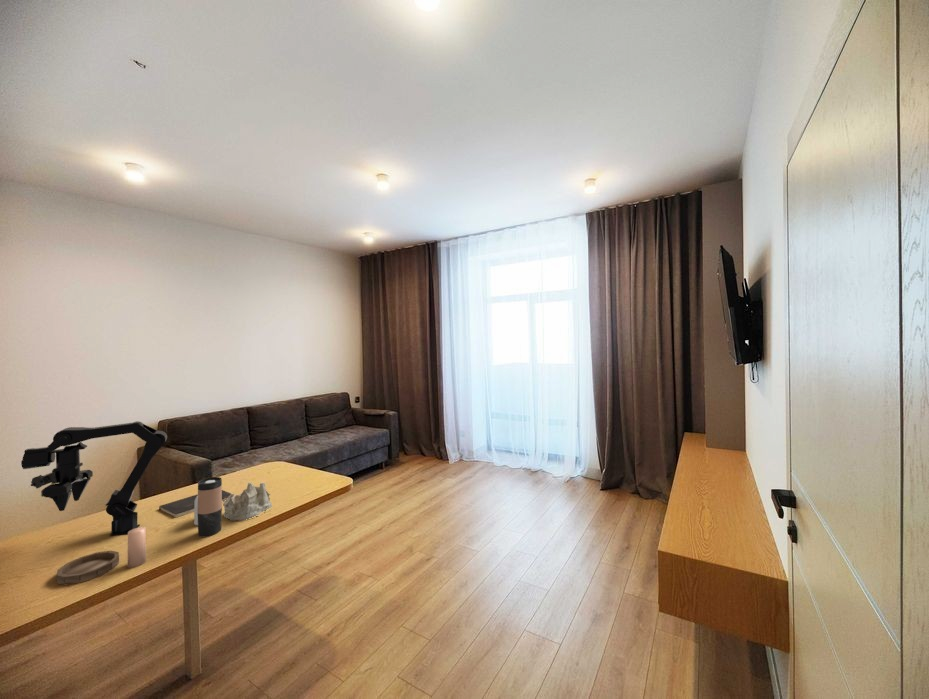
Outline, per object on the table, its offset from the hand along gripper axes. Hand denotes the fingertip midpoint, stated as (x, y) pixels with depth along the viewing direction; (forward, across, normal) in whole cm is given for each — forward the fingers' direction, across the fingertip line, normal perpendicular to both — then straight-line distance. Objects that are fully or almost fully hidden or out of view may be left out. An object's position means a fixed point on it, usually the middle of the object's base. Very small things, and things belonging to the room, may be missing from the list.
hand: (69, 505), depth 128 cm
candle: (+14, +27, +27) cm, 41 cm away
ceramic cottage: (+16, 0, +56) cm, 58 cm away
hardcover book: (+15, -20, +34) cm, 42 cm away
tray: (+14, +25, +14) cm, 32 cm away
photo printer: (+15, 0, +40) cm, 43 cm away
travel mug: (+15, +13, +44) cm, 48 cm away
